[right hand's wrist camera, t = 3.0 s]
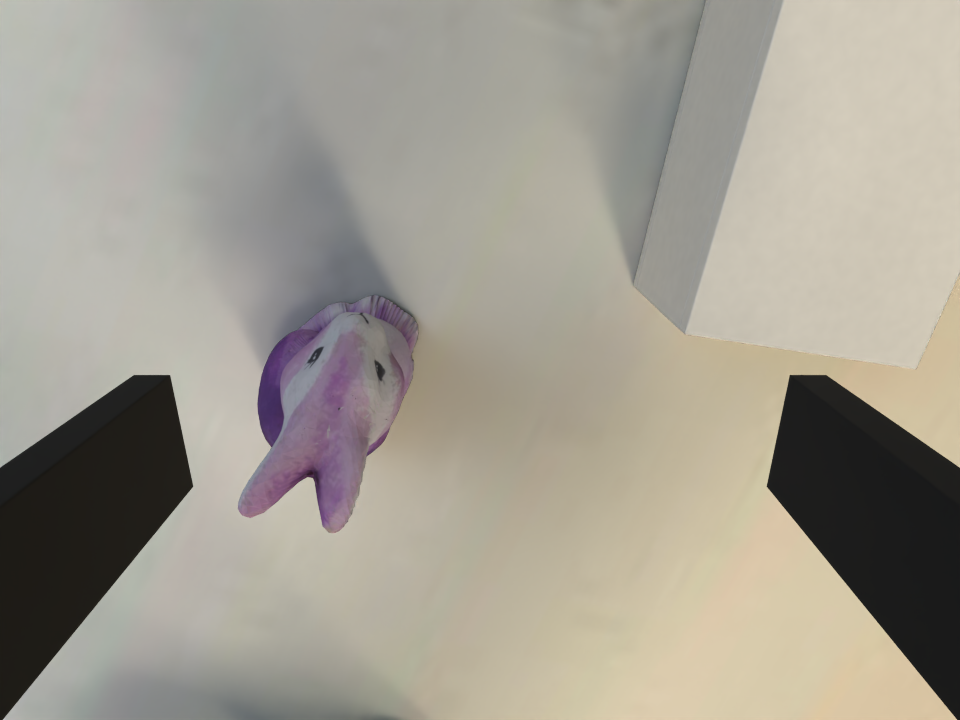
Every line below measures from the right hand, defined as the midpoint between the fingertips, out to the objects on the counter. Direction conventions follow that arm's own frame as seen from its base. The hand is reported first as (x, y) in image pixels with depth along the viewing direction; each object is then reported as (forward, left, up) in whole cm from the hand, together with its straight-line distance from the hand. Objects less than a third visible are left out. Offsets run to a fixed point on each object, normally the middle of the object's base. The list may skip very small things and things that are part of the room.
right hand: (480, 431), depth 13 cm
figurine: (-4, +10, -23) cm, 25 cm away
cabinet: (-1, -17, -23) cm, 28 cm away
